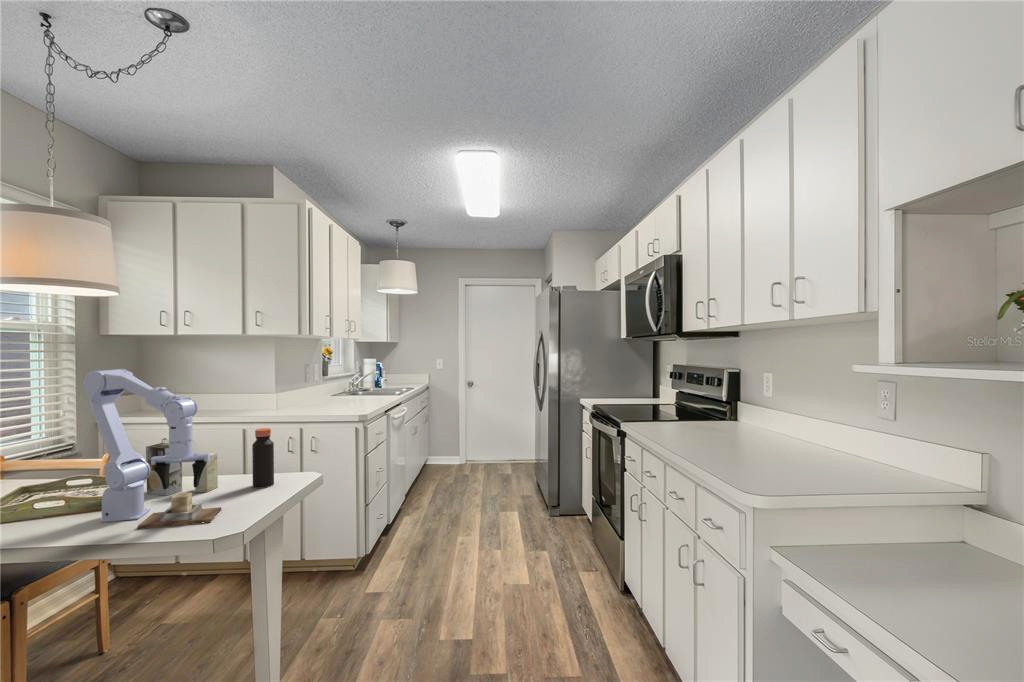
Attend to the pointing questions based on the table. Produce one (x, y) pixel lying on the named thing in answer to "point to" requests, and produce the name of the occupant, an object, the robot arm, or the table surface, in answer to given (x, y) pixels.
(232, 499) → the table surface
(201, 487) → the skincare box
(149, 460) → the coffee box
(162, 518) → the socket stand
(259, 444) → the bottle
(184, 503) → the peg
